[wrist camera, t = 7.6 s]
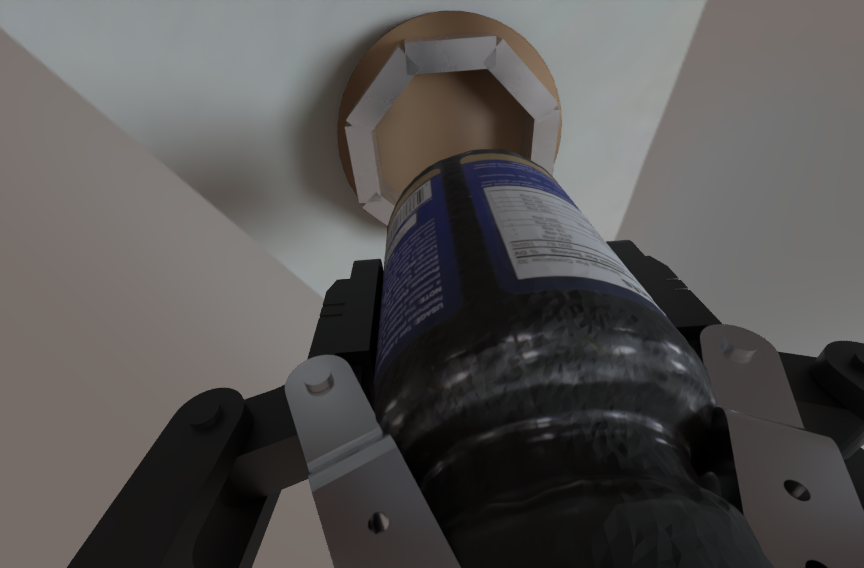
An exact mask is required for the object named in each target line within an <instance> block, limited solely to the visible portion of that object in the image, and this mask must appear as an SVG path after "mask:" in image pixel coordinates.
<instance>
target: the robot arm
mask: <svg viewBox="0 0 864 568" xmlns="http://www.w3.org/2000/svg"><path fill="white" fill-rule="evenodd" d="M606 243H607V244H608V246H609V247H610V248H611V249H612V250H613V252H614V253H615V254H616V255H617V256H618V258H619V259H620V260H621V261H622V263H623V264H624V265H625V266H626V268H627V269H628V270H629V271H630V273H631V274H632V275H633V276H634V277H635V278H636V280H637V281H638V282H639V283H640V285H641V286H642V287H643V288H644V289H645V291H646V292H647V293H648V294H649V295H650V296H651V298H652V299H653V301H654V302H655V303H656V304H657V306H658V307H659V308H660V309H661V310H662V311H663V312H664V313H665V315H666V316H667V318H668V319H669V320H670V321H671V322H672V324H673V325H674V326H675V327H676V329H677V330H678V331H679V332H680V333H681V334H682V335H683V336H684V337H685V339H686V341H687V342H688V344H689V345H690V346H691V347H692V348H693V349H694V350H695V352H696V354H697V355H698V357H699V358H700V359H701V361H702V363H703V364H704V366H705V367H706V368H707V372H708V376H709V378H710V380H711V385H712V390H713V393H714V394H715V397H716V400H717V402H718V404H717V405H716V406H715V408H714V412H713V416H712V423H711V426H710V431H709V434H708V436H707V439H706V441H705V443H704V447H703V448H702V449H701V452H700V455H699V457H698V459H697V461H696V464H695V466H694V467H693V469H694V470H695V472H696V473H697V474H698V476H699V477H700V479H701V481H702V482H703V484H704V485H705V486H706V488H707V490H708V491H710V492H713V493H715V494H717V495H719V496H721V497H723V498H724V499H726V500H727V501H729V502H730V503H731V504H733V505H734V506H736V507H737V508H738V509H740V510H741V512H742V514H743V516H744V517H745V518H746V519H747V522H748V524H749V525H750V527H751V529H752V531H753V533H754V534H755V536H756V538H757V540H758V542H759V544H760V546H761V548H762V551H763V553H764V555H765V556H766V557H767V559H768V560H769V561H770V562H771V564H772V565H773V566H774V568H864V450H863V449H862V448H861V446H863V445H864V344H863V343H858V342H852V341H835V342H832V343H830V344H828V345H827V346H826V347H825V348H824V350H823V351H822V352H821V354H820V355H819V356H818V357H810V356H803V355H796V354H790V353H783V352H778V351H777V350H776V349H775V347H774V346H773V345H772V344H771V343H770V342H769V341H767V340H766V339H765V338H763V337H762V336H760V335H758V334H756V333H754V332H752V331H750V330H747V329H745V328H742V327H738V326H734V325H728V324H722V323H721V322H720V321H719V320H718V319H717V318H716V317H715V316H714V315H713V314H712V312H710V311H709V309H708V308H707V307H706V306H705V305H704V304H703V303H702V302H701V301H700V300H699V299H698V298H697V297H696V296H695V295H694V294H693V293H692V292H691V291H690V290H688V288H687V286H686V285H685V284H684V283H683V282H682V281H681V280H678V277H677V276H676V275H675V274H674V273H673V272H672V270H671V269H670V268H669V267H668V266H666V265H664V264H663V263H661V262H660V261H658V260H656V259H654V258H652V257H651V256H645V255H644V254H643V253H642V252H641V251H640V250H639V249H638V248H637V247H636V245H635V244H634V243H633V242H632V241H630V240H621V241H607V242H606ZM382 284H383V266H382V262H381V259H371V260H359V261H354V263H353V268H352V273H351V277H350V279H340V280H336V282H335V283H334V284H333V285H332V286H331V287H330V288H329V289H328V291H327V292H326V295H325V299H324V302H323V307H322V309H321V313H320V318H319V320H318V324H317V327H316V331H315V334H314V338H313V342H312V345H311V348H310V352H309V356H308V359H307V360H306V361H304V362H302V363H301V364H299V365H298V366H297V367H296V368H295V369H294V370H293V371H292V372H291V373H290V375H289V376H288V378H287V380H286V383H285V385H283V386H281V387H279V388H277V389H274V390H271V391H269V392H266V393H263V394H260V395H257V396H254V397H251V398H248V399H245V400H244V399H243V397H242V395H241V394H240V393H239V392H238V391H236V390H234V389H230V388H216V389H212V390H208V391H205V392H203V393H201V394H199V395H197V396H195V397H193V398H192V399H190V400H189V401H188V402H187V403H185V404H184V405H183V406H182V407H181V408H180V409H179V410H178V411H177V412H176V413H175V415H174V416H173V417H172V419H171V420H170V421H169V423H168V424H167V426H166V427H165V429H164V430H163V431H162V433H161V435H160V436H159V437H158V439H157V440H156V441H155V443H154V444H153V446H152V447H151V449H150V450H149V451H148V453H147V454H146V456H145V457H144V459H143V460H142V461H141V463H140V464H139V466H138V467H137V469H136V470H135V471H134V473H133V474H132V476H131V477H130V478H129V480H128V481H127V483H126V484H125V485H124V487H123V488H122V490H121V491H120V493H119V494H118V495H117V497H116V498H115V500H114V501H113V503H112V504H111V506H110V507H109V508H108V510H107V511H106V512H105V514H104V515H103V517H102V518H101V520H100V521H99V522H98V524H97V525H96V527H95V528H94V530H93V531H92V533H91V534H90V535H89V537H88V538H87V540H86V541H85V542H84V544H83V545H82V547H81V548H80V549H79V551H78V552H77V554H76V555H75V557H74V558H73V559H72V561H71V562H70V564H69V565H68V567H67V568H252V566H253V563H254V560H255V558H256V555H257V553H258V550H259V547H260V545H261V542H262V539H263V537H264V534H265V531H266V529H267V526H268V524H269V521H270V519H271V516H272V513H273V511H274V508H275V505H276V503H277V500H278V498H279V495H280V492H281V490H282V489H284V488H287V487H289V486H292V485H294V484H297V483H299V482H301V481H304V480H306V479H308V480H309V484H310V488H311V491H312V495H313V498H314V501H315V505H316V508H317V511H318V515H319V518H320V522H321V525H322V529H323V532H324V535H325V539H326V542H327V545H328V549H329V552H330V555H331V559H332V562H333V565H334V568H461V567H460V565H459V563H458V561H457V559H456V557H455V555H454V553H453V552H452V550H451V548H450V546H449V544H448V542H447V540H446V538H445V536H444V535H443V533H442V531H441V529H440V527H439V525H438V523H437V521H436V519H435V517H434V516H433V514H432V512H431V510H430V508H429V506H428V504H427V502H426V500H425V498H424V497H423V495H422V493H421V491H420V489H419V487H418V485H417V483H416V481H415V479H414V478H413V476H412V474H411V472H410V470H409V468H408V466H407V464H406V462H405V461H404V459H403V457H402V455H401V453H400V451H399V449H398V447H397V445H396V444H395V442H394V440H393V438H392V437H391V435H390V434H389V433H388V432H387V433H385V432H383V431H382V430H381V428H380V425H379V424H378V423H377V421H376V417H375V414H374V412H373V410H372V408H371V407H372V397H373V387H374V373H375V363H376V352H377V340H378V329H379V318H380V306H381V295H382Z"/></svg>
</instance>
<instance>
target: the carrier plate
mask: <svg viewBox="0 0 864 568" xmlns="http://www.w3.org/2000/svg"><path fill="white" fill-rule="evenodd" d="M561 126H562V120H561V106H560V101H559V96H558V91H557V88H556V86H555V83H554V80H553V77H552V75H551V73H550V71H549V69H548V67H547V65H546V63H545V62H544V60H543V59H542V58H541V56H540V55H539V53H538V52H537V51H536V49H535V48H534V47H533V46H532V45H531V44H530V43H529V42H528V41H527V40H526V39H525V38H524V37H523V36H521V35H520V34H519V33H517V32H516V31H515V30H513V29H512V28H510V27H508V26H506V25H505V24H503V23H501V22H499V21H497V20H494V19H491V18H488V17H485V16H482V15H479V14H476V13H470V12H464V11H439V12H433V13H427V14H424V15H421V16H418V17H415V18H411V19H410V20H408V21H406V22H404V23H402V24H400V25H398V26H396V27H395V28H393V29H392V30H390V31H389V32H388V33H386V34H385V35H383V36H382V37H381V38H380V39H379V40H378V41H377V42H376V43H375V44H374V45H373V46H372V47H371V48H370V49H369V51H368V52H367V53H366V55H365V56H364V57H363V58H362V60H361V61H360V63H359V64H358V66H357V67H356V69H355V71H354V73H353V74H352V76H351V78H350V80H349V82H348V85H347V87H346V90H345V92H344V95H343V99H342V103H341V106H340V111H339V119H338V145H339V152H340V158H341V161H342V165H343V169H344V171H345V174H346V176H347V179H348V181H349V183H350V185H351V187H352V188H353V190H354V192H355V194H356V195H357V197H358V200H359V203H363V207H362V208H363V209H364V210H366V211H367V212H368V213H370V214H371V215H373V216H374V217H375V218H377V219H378V220H380V221H381V222H382V223H384V224H385V225H387V226H388V223H389V220H390V217H391V214H392V212H393V210H394V207H395V205H396V203H397V201H398V199H399V197H400V195H401V193H402V192H403V190H404V189H405V188H406V187H407V186H408V185H409V184H410V183H411V182H412V181H413V179H414V178H415V177H416V176H418V175H419V174H420V173H421V172H422V171H424V170H425V169H426V168H427V167H429V166H431V165H433V164H434V163H436V162H438V161H440V160H443V159H446V158H449V157H451V156H454V155H457V154H462V153H465V152H467V151H471V150H478V149H503V150H509V151H512V152H515V153H517V154H519V155H521V156H523V157H526V158H527V159H529V160H531V161H533V162H535V163H537V164H538V165H540V166H542V167H543V168H544V169H546V170H547V171H548V172H549V173H550V174H551V176H552V174H553V166H554V163H555V160H556V157H557V153H558V149H559V144H560V139H561Z"/></svg>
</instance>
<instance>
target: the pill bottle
mask: <svg viewBox="0 0 864 568" xmlns="http://www.w3.org/2000/svg"><path fill="white" fill-rule="evenodd" d="M717 404H718V402H717V400H716V397H715V394H714V393H713V390H712V385H711V380H710V378H709V376H708V372H707V368H706V367H705V366H704V364H703V363H702V361H701V359H700V358H699V357H698V355H697V354H696V352H695V350H694V349H693V348H692V347H691V346H690V345H689V344H688V342H687V341H686V339H685V337H684V336H683V335H682V334H681V333H680V332H679V331H678V330H677V329H676V327H675V326H674V325H673V324H672V322H671V321H670V320H669V319H668V318H667V316H666V315H665V313H664V312H663V311H662V310H661V309H660V308H659V307H658V306H657V304H656V303H655V302H654V301H653V299H652V298H651V296H650V295H649V294H648V293H647V292H646V291H645V289H644V288H643V287H642V286H641V285H640V283H639V282H638V281H637V280H636V278H635V277H634V276H633V275H632V274H631V273H630V271H629V270H628V269H627V268H626V266H625V265H624V264H623V263H622V261H621V260H620V259H619V258H618V256H617V255H616V254H615V253H614V252H613V250H612V249H611V248H610V247H609V246H608V244H607V243H606V242H605V241H604V239H603V238H602V237H601V235H600V234H599V233H598V232H597V230H596V229H595V228H594V227H593V226H592V224H591V223H590V222H589V221H588V219H587V218H586V217H585V216H584V215H583V214H582V212H581V211H580V210H579V209H578V207H577V206H576V205H575V204H574V202H573V201H572V200H571V199H570V197H569V196H568V195H567V194H566V192H565V191H564V190H563V189H562V188H561V186H560V185H559V184H558V183H557V181H556V180H555V179H554V178H553V177H552V176H551V174H550V173H549V172H548V171H547V170H546V169H544V168H543V167H542V166H540V165H538V164H537V163H535V162H533V161H531V160H529V159H527V158H526V157H523V156H521V155H519V154H517V153H515V152H512V151H509V150H503V149H478V150H471V151H467V152H465V153H462V154H457V155H454V156H451V157H449V158H446V159H443V160H440V161H438V162H436V163H434V164H433V165H431V166H429V167H427V168H426V169H425V170H424V171H422V172H421V173H420V174H419V175H418V176H416V177H415V178H414V179H413V181H412V182H411V183H410V184H409V185H408V186H407V187H406V188H405V189H404V190H403V192H402V193H401V195H400V197H399V199H398V201H397V203H396V205H395V207H394V210H393V212H392V214H391V217H390V220H389V223H388V227H387V240H386V252H385V261H384V272H383V284H382V295H381V306H380V318H379V329H378V340H377V352H376V363H375V373H374V387H373V397H372V407H371V408H372V410H373V412H374V414H375V417H376V421H377V423H378V424H379V425H380V428H381V430H382V431H383V432H385V433H387V432H388V433H389V434H390V435H391V437H392V438H393V440H394V442H395V444H396V445H397V447H398V449H399V451H400V453H401V455H402V457H403V459H404V461H405V462H406V464H407V466H408V468H409V470H410V472H411V474H412V476H413V478H414V479H415V481H416V483H417V485H418V487H419V489H420V491H421V493H422V495H423V497H424V498H425V500H426V502H427V504H428V506H429V508H430V510H431V512H432V514H433V516H434V517H435V519H436V521H437V523H438V525H439V527H440V529H441V531H442V533H443V535H444V536H445V538H446V540H447V542H448V544H449V546H450V548H451V550H452V552H453V553H454V555H455V557H456V559H457V561H458V563H459V565H460V567H461V568H774V566H773V565H772V564H771V562H770V561H769V560H768V559H767V557H766V556H765V555H764V553H763V551H762V548H761V546H760V544H759V542H758V540H757V538H756V536H755V534H754V533H753V531H752V529H751V527H750V525H749V524H748V522H747V519H746V518H745V517H744V516H743V514H742V512H741V510H740V509H738V508H737V507H736V506H734V505H733V504H731V503H730V502H729V501H727V500H726V499H724V498H723V497H721V496H719V495H717V494H715V493H713V492H710V491H708V490H707V488H706V486H705V485H704V484H703V482H702V481H701V479H700V477H699V476H698V474H697V473H696V472H695V470H694V469H693V467H694V466H695V464H696V461H697V459H698V457H699V455H700V452H701V449H702V448H703V447H704V443H705V441H706V439H707V436H708V434H709V431H710V426H711V423H712V416H713V412H714V408H715V406H716V405H717Z"/></svg>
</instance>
